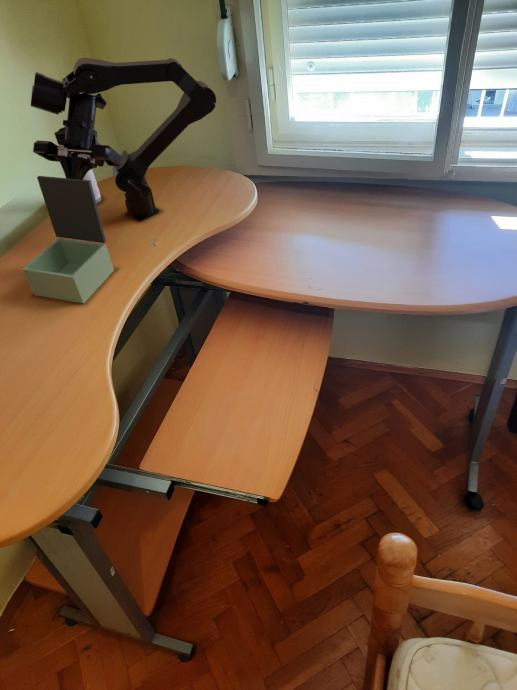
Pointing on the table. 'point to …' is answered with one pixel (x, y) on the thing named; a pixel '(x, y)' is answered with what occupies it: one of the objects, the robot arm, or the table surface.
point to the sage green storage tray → (69, 270)
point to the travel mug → (90, 174)
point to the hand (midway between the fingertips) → (73, 192)
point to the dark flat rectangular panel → (72, 208)
